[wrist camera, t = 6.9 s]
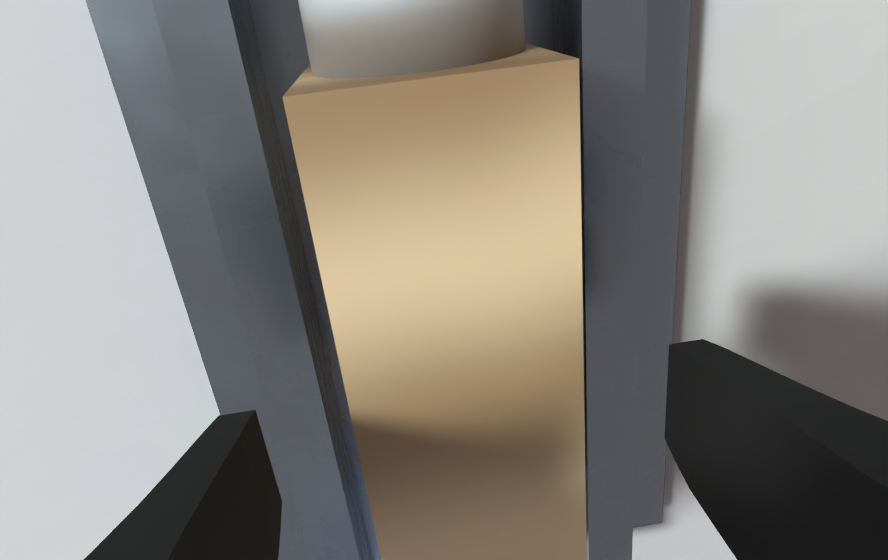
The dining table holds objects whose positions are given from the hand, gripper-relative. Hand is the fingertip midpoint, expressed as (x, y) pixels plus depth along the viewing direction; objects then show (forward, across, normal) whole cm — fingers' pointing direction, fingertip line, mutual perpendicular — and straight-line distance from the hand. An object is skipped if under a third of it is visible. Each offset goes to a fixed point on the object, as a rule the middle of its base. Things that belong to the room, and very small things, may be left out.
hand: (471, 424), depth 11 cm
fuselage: (+5, 0, 0) cm, 5 cm away
